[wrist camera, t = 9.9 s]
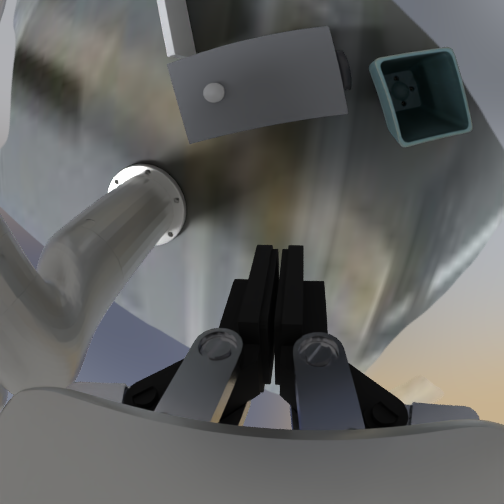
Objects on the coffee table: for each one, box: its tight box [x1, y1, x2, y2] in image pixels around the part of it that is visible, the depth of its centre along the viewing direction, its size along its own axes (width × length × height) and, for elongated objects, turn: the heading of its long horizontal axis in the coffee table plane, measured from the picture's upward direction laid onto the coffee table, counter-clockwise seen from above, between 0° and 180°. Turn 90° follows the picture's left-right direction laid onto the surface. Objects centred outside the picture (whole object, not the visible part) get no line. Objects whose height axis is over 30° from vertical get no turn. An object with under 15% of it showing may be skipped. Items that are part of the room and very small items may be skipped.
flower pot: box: [369, 47, 472, 147], centre depth 25 cm, size 9×9×9 cm
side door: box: [157, 0, 196, 59], centre depth 23 cm, size 14×2×7 cm, turn 11°
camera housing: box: [167, 26, 351, 144], centre depth 27 cm, size 17×9×8 cm, turn 104°
